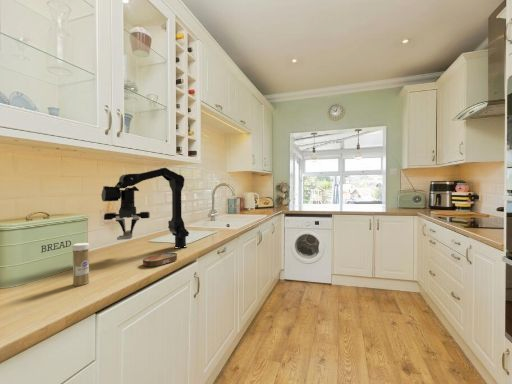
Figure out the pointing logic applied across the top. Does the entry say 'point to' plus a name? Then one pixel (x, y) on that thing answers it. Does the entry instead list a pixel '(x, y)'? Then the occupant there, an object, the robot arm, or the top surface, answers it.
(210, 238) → the top surface
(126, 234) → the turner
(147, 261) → the tin
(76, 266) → the sprinkles bottle
